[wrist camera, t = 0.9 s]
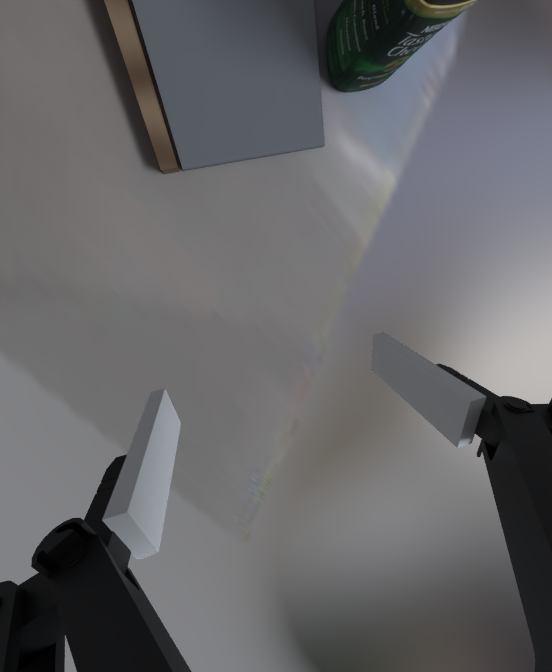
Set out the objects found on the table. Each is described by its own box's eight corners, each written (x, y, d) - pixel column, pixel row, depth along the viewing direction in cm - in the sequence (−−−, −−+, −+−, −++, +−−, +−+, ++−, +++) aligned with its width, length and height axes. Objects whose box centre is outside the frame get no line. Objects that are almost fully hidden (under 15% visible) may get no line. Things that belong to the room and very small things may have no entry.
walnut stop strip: (93, -41, 24) (81, -67, 21) (114, -42, 24) (104, -69, 22) (164, 174, 32) (160, 170, 29) (179, 171, 32) (177, 167, 30)
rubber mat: (119, -42, 24) (117, -51, 23) (307, -53, 26) (309, -61, 26) (183, 170, 32) (182, 169, 31) (322, 146, 34) (324, 145, 34)
